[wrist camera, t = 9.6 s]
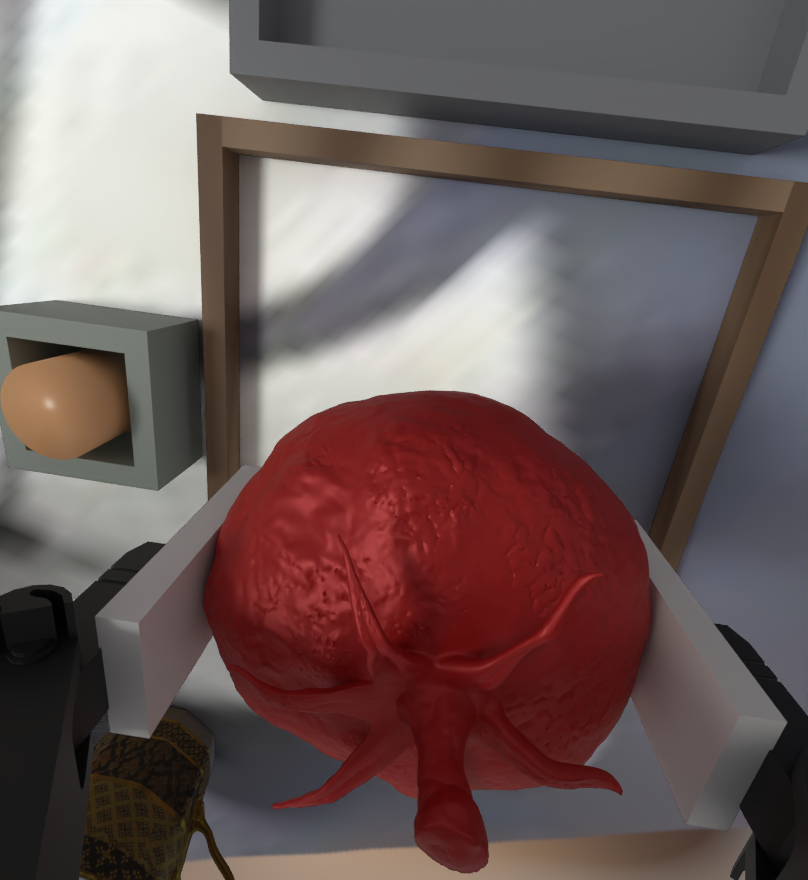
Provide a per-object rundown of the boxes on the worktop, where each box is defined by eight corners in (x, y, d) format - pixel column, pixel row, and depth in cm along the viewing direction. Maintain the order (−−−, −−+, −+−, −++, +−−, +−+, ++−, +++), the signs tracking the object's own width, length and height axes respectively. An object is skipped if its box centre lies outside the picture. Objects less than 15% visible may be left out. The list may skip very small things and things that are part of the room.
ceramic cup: (106, 774, 35) (-21, 961, 26) (92, 670, 31) (-62, 843, 22) (281, 808, 34) (216, 1013, 25) (287, 706, 31) (213, 900, 21)
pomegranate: (314, 319, 14) (75, 398, 5) (653, 421, 14) (1018, 678, 5) (253, 599, 17) (45, 951, 8) (527, 679, 17) (614, 1110, 8)
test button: (80, 422, 24) (9, 452, 20) (69, 340, 22) (-9, 356, 19) (158, 433, 23) (102, 466, 20) (153, 352, 22) (91, 370, 18)
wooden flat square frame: (223, 585, 28) (211, 603, 27) (214, 123, 20) (196, 113, 18) (626, 653, 27) (636, 674, 25) (796, 190, 19) (823, 184, 17)
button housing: (73, 437, 26) (8, 467, 22) (55, 300, 23) (-22, 307, 19) (202, 456, 25) (158, 490, 21) (197, 319, 23) (146, 331, 19)
